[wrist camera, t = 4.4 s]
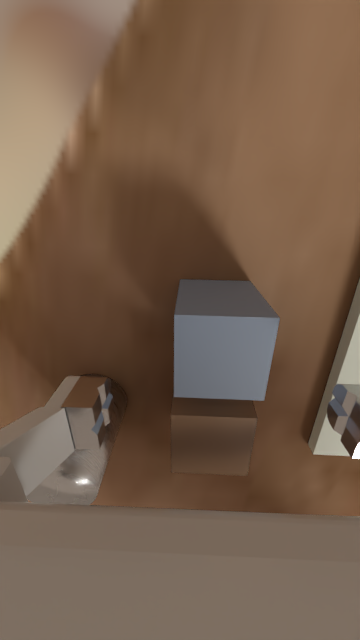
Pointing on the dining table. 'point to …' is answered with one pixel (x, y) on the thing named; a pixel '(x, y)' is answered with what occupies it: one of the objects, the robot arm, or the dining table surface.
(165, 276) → the dining table surface
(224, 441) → the walnut block
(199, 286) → the slate blue block
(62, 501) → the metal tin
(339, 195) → the dining table surface
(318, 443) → the sage board
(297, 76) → the dining table surface
